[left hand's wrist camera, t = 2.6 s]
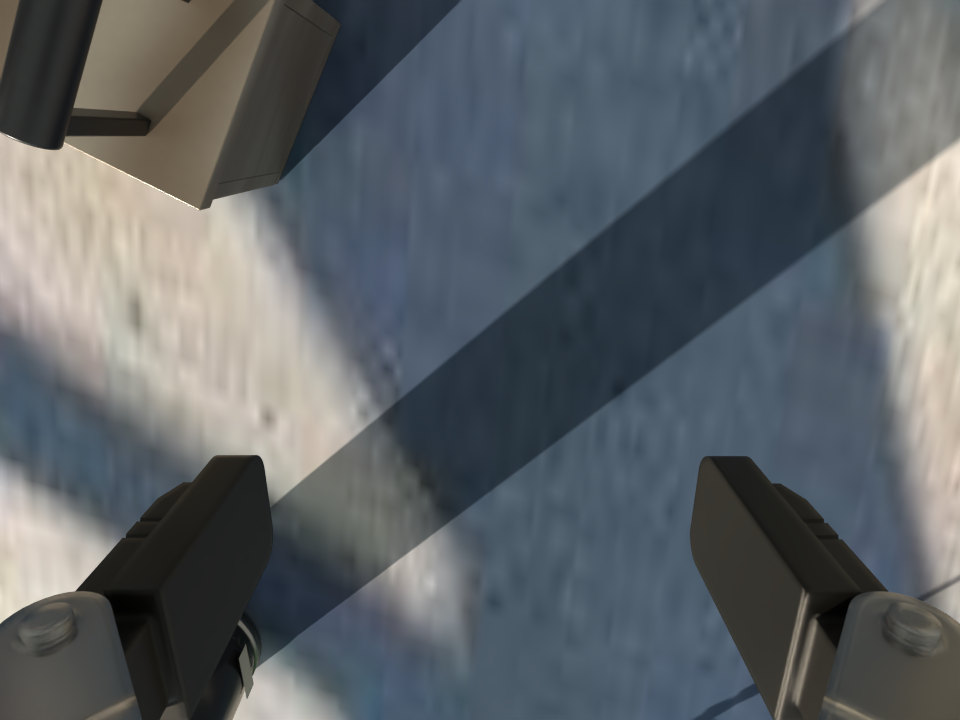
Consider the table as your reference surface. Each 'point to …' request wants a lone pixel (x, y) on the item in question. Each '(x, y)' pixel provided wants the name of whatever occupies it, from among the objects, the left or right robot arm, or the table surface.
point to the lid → (135, 82)
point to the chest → (279, 97)
